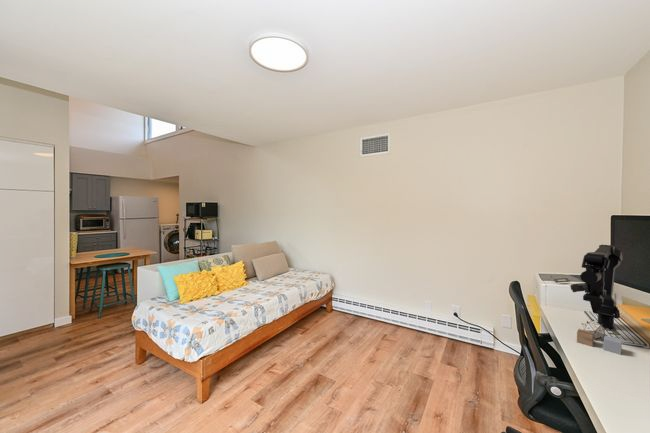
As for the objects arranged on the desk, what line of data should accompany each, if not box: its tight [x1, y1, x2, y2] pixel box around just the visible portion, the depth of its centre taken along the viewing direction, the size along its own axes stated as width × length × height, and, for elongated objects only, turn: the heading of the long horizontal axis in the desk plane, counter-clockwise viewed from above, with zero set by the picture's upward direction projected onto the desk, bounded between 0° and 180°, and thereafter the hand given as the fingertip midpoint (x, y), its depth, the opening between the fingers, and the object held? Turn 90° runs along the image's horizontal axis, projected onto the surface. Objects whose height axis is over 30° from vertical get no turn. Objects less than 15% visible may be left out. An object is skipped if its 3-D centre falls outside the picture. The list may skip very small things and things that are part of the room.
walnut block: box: [576, 328, 595, 348], centre depth 120 cm, size 5×5×5 cm
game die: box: [581, 319, 608, 341], centre depth 124 cm, size 9×8×10 cm
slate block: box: [603, 334, 623, 356], centre depth 114 cm, size 5×5×5 cm
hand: (594, 312), depth 124 cm, fingers closed
